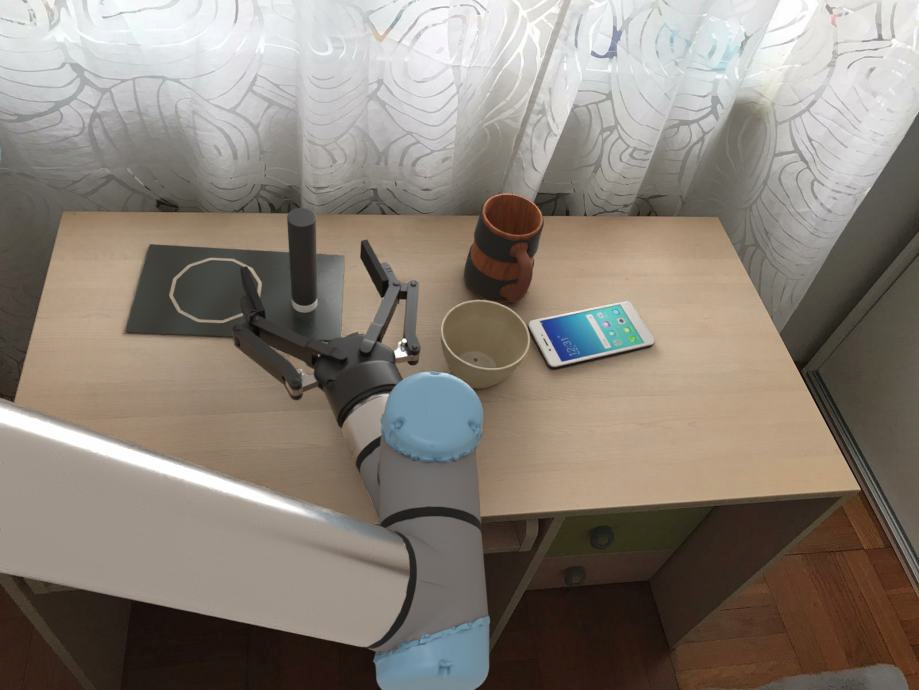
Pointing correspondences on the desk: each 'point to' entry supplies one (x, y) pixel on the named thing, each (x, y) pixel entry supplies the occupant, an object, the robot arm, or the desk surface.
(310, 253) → the cylinder
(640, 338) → the smartphone
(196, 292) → the board
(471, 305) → the flower pot
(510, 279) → the mug
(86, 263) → the desk surface
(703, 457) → the desk surface
